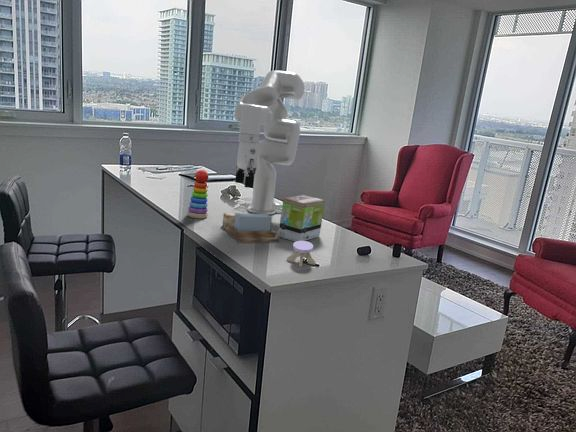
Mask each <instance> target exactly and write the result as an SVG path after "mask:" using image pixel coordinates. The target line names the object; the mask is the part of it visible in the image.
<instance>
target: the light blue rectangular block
mask: <svg viewBox="0 0 576 432" xmlns="http://www.w3.org/2000/svg"><path fill="white" fill-rule="evenodd" d="M271 225H272V216H271V215H267V214H256V213H248V214H241V213H236V214H235V224H234V229H236V230H237V231H270V229H271Z"/></svg>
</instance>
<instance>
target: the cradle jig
mask: <svg viewBox="0 0 576 432" xmlns="http://www.w3.org/2000/svg"><path fill="white" fill-rule="evenodd" d="M224 230H225V231H226V233H228V234H229V235H230V234H231V235H230V236H232V237H233V238H234V239H235V240H236V241H238V243H279V242H280V240H281V238H279V236H277V232H276V231H275V230H273V229H272V228H270V231H237V230H236V229H234V225H228V227H224Z"/></svg>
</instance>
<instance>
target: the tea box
mask: <svg viewBox="0 0 576 432" xmlns="http://www.w3.org/2000/svg"><path fill="white" fill-rule="evenodd" d="M325 203H326V200H324V199H322V198H318V197H314V196H310V195H305V194H302V195H297V196H288V197H283V201H282V208H281V213H280V219H279V220H280V221H279V225H278V226H279V227H278V232H277V237H278V238H279V237H280V238H283V239H286V240H289V241H293V242H296V241H308V240H312V239H315V238H319V237H320V236H321V235H320V234H321V231H322V230H321V229H322V223H323V215H324V209H325Z"/></svg>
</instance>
